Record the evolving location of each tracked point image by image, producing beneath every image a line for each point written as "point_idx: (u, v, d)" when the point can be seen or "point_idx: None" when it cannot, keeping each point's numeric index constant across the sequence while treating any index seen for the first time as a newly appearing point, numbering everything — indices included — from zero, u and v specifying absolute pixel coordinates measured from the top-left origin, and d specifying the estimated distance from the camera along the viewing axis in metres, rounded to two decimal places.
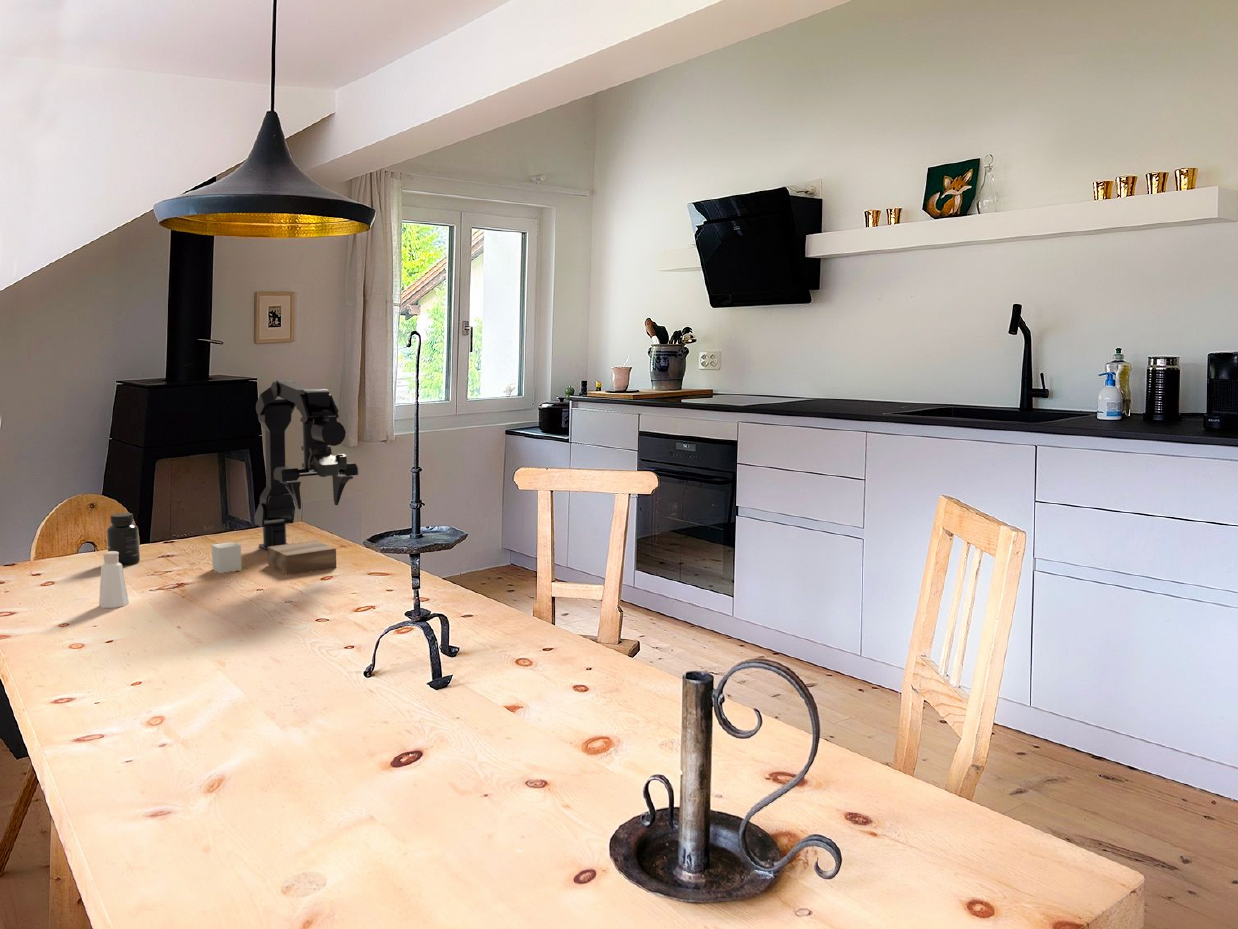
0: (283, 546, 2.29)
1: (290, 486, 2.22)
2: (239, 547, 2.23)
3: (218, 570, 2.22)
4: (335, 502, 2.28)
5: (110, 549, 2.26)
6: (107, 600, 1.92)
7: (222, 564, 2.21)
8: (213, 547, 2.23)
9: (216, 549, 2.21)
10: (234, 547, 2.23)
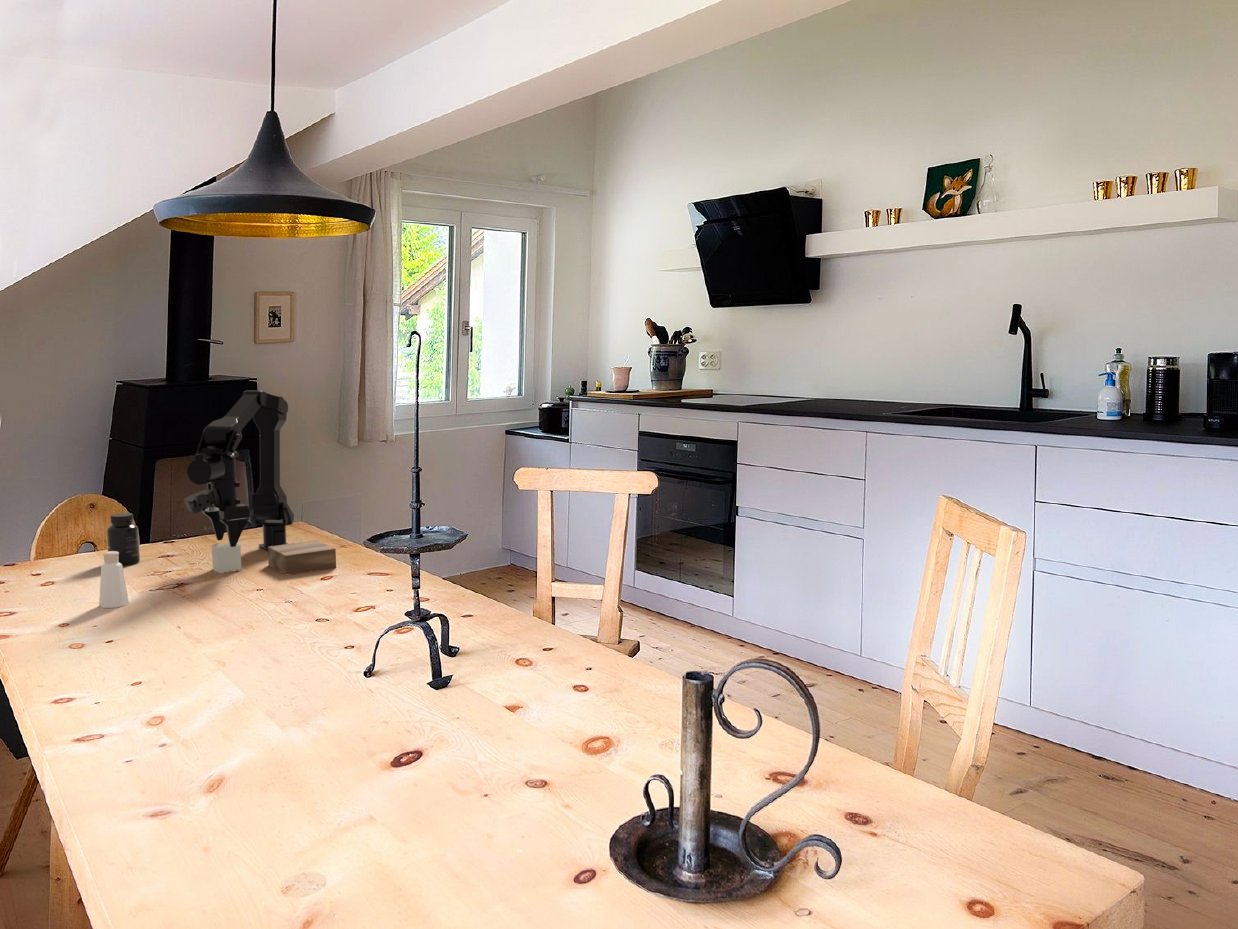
0: (283, 546, 2.29)
1: None
2: (239, 547, 2.23)
3: (218, 570, 2.22)
4: None
5: (110, 549, 2.26)
6: (107, 600, 1.92)
7: (222, 564, 2.21)
8: (213, 547, 2.23)
9: (216, 549, 2.21)
10: (234, 547, 2.23)
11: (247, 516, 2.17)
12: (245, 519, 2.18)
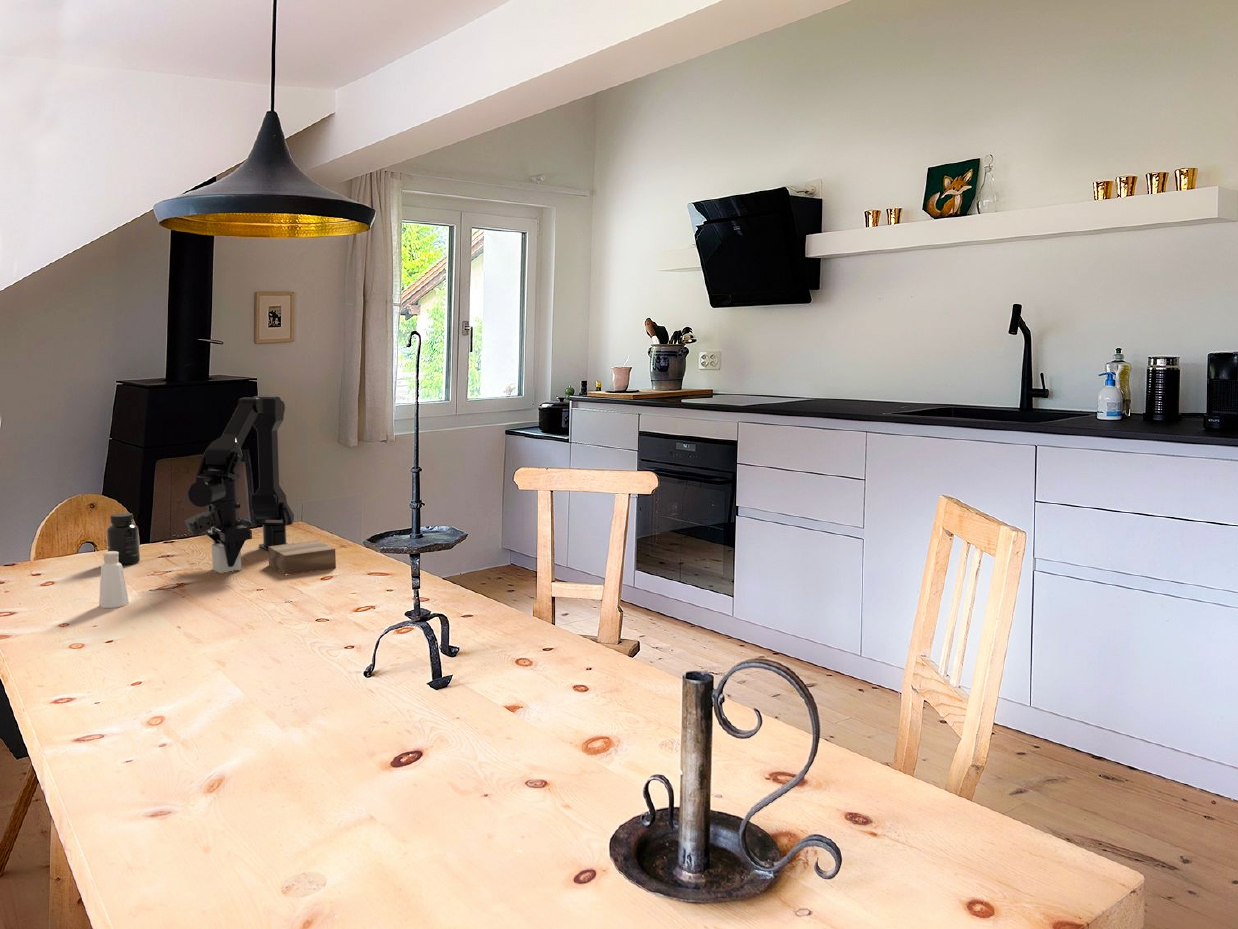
0: (284, 546, 2.29)
1: None
2: None
3: (218, 570, 2.22)
4: None
5: (110, 549, 2.26)
6: (107, 600, 1.92)
7: (222, 564, 2.21)
8: (213, 547, 2.23)
9: (216, 549, 2.21)
10: None
11: (248, 538, 2.18)
12: (243, 539, 2.20)
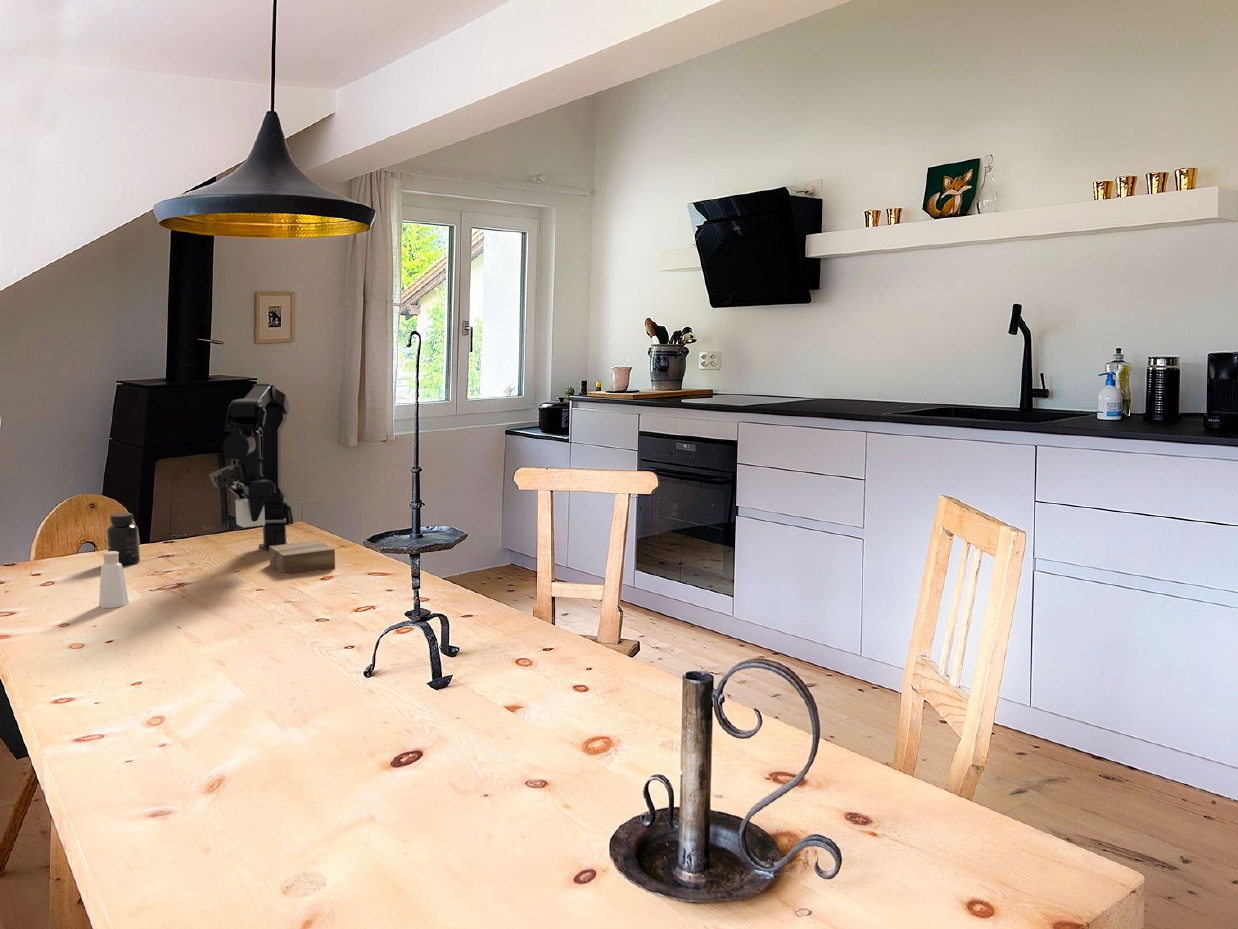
0: (284, 546, 2.29)
1: None
2: None
3: (242, 524, 2.21)
4: None
5: (110, 549, 2.26)
6: (107, 600, 1.92)
7: (245, 518, 2.21)
8: (237, 501, 2.23)
9: (240, 503, 2.21)
10: None
11: (271, 491, 2.17)
12: (266, 493, 2.20)
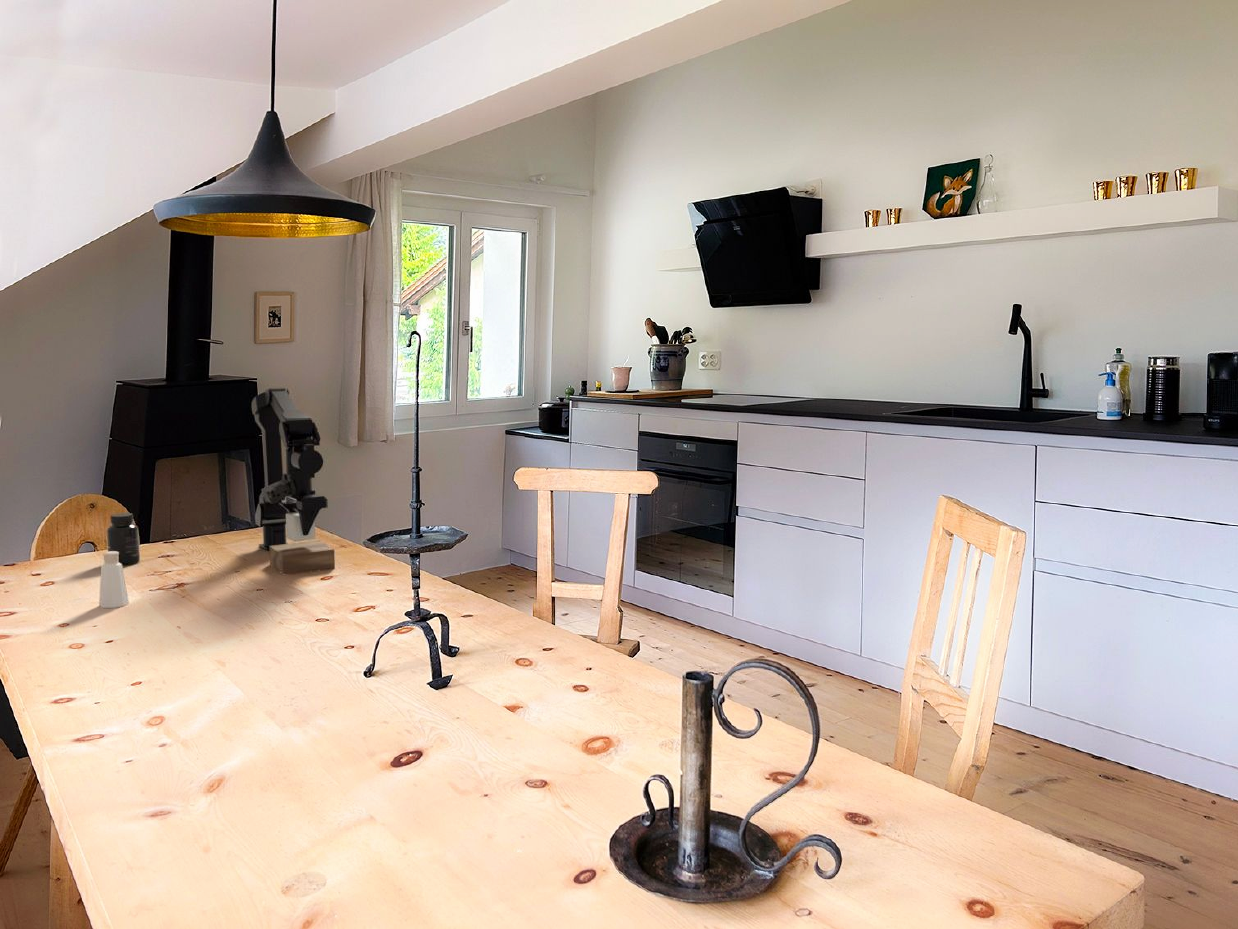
0: (284, 545, 2.29)
1: None
2: None
3: (293, 538, 2.24)
4: None
5: (110, 549, 2.26)
6: (107, 600, 1.92)
7: (297, 532, 2.24)
8: (287, 516, 2.26)
9: (291, 518, 2.24)
10: None
11: (324, 506, 2.20)
12: (318, 508, 2.23)
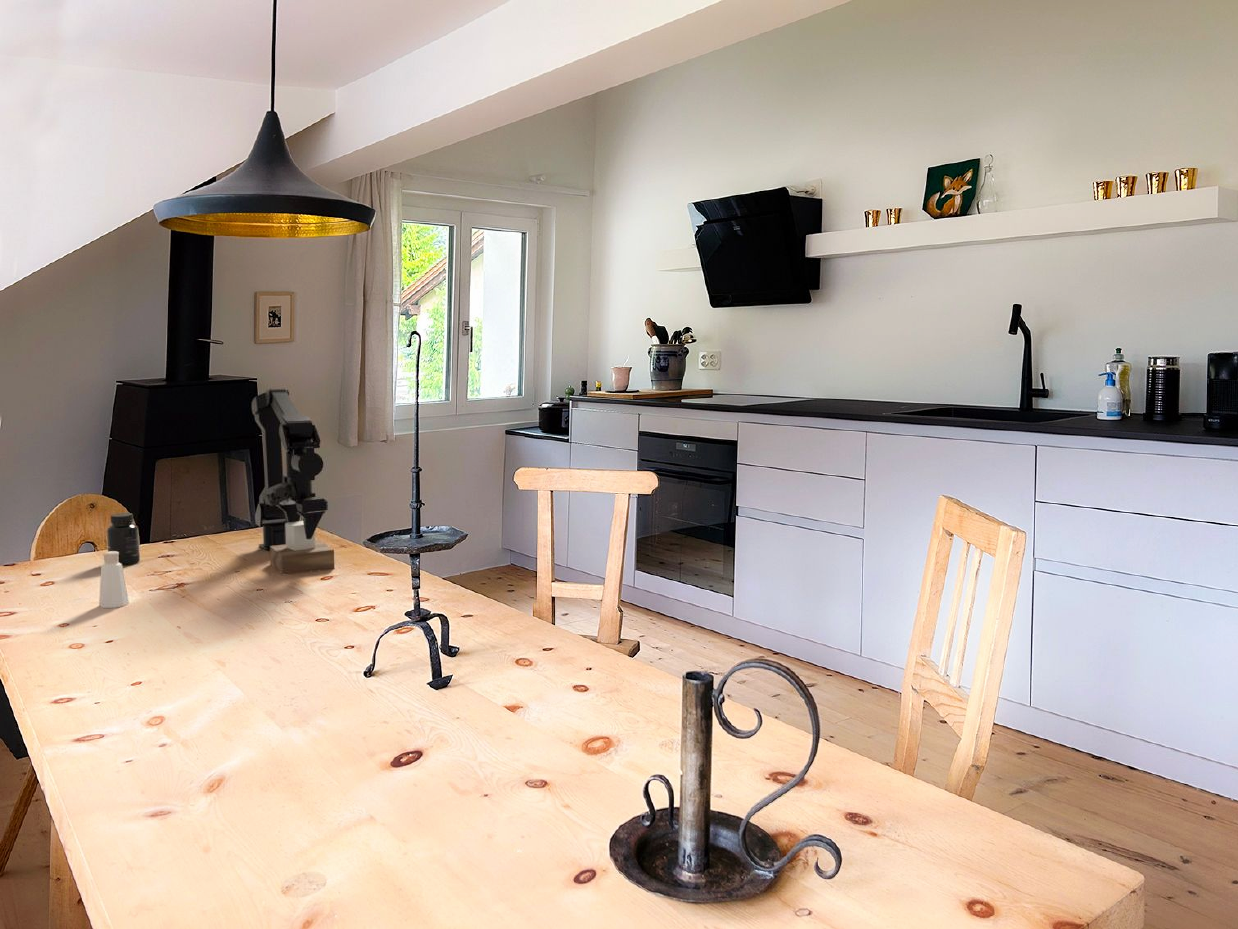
0: (285, 546, 2.29)
1: None
2: None
3: (293, 547, 2.25)
4: None
5: (110, 549, 2.26)
6: (107, 600, 1.92)
7: (297, 542, 2.25)
8: (287, 525, 2.26)
9: (291, 527, 2.25)
10: None
11: (324, 509, 2.21)
12: (322, 512, 2.22)
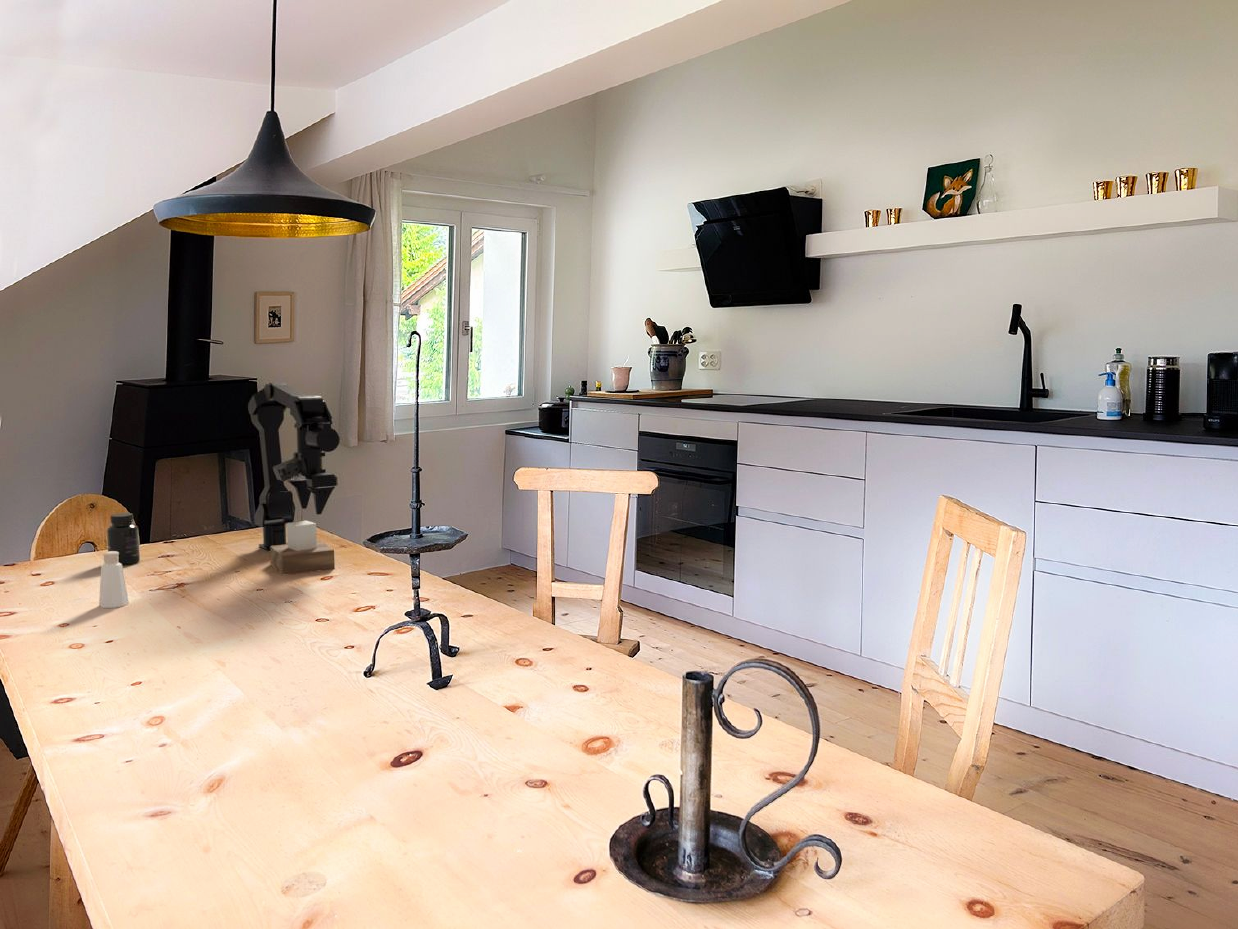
0: (285, 546, 2.29)
1: None
2: (315, 525, 2.27)
3: (295, 548, 2.25)
4: None
5: (110, 549, 2.26)
6: (107, 600, 1.92)
7: (299, 542, 2.24)
8: (289, 525, 2.26)
9: (293, 527, 2.25)
10: (310, 525, 2.26)
11: (334, 484, 2.24)
12: (331, 487, 2.25)
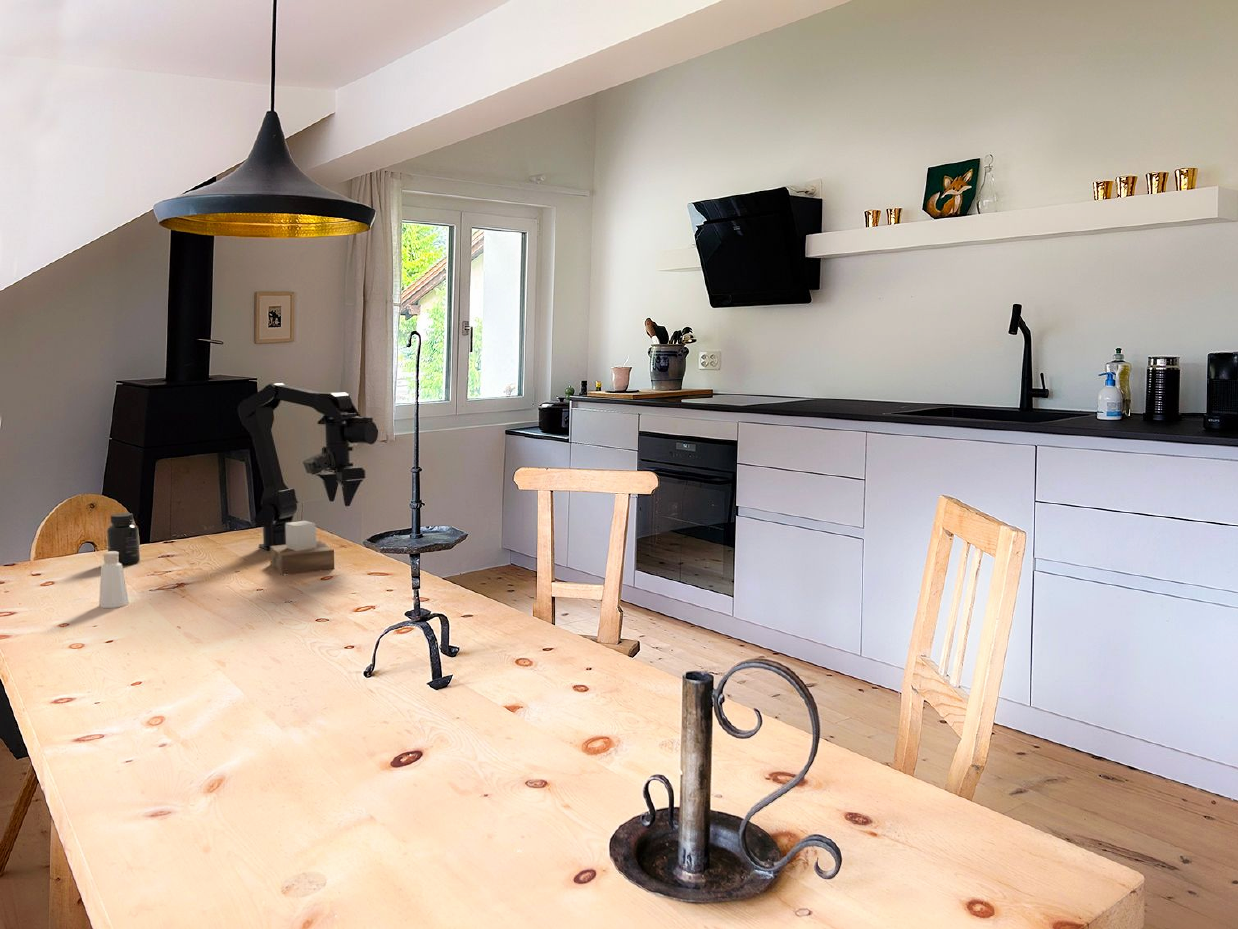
0: (285, 546, 2.29)
1: None
2: (314, 525, 2.27)
3: (294, 548, 2.25)
4: None
5: (110, 549, 2.26)
6: (107, 600, 1.92)
7: (299, 542, 2.24)
8: (288, 525, 2.26)
9: (293, 527, 2.24)
10: (309, 525, 2.26)
11: (362, 477, 2.33)
12: (359, 480, 2.35)
